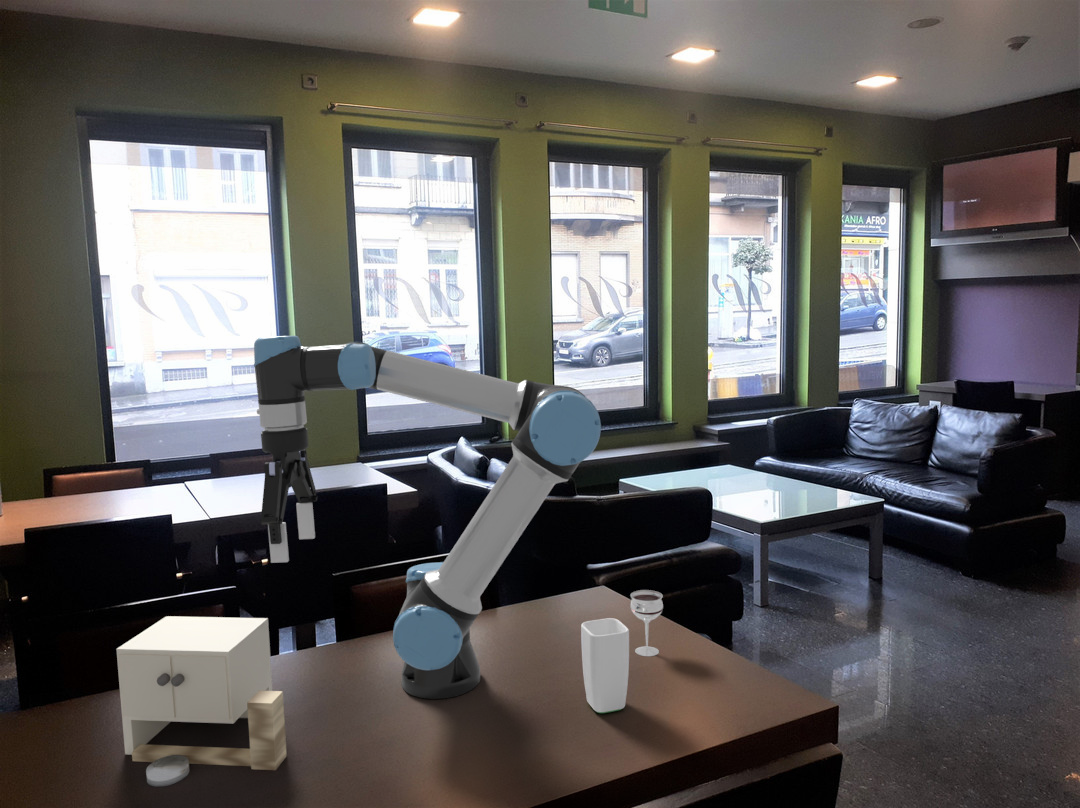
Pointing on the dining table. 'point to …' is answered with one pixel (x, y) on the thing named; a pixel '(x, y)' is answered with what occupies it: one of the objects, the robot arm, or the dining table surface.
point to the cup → (605, 663)
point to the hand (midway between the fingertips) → (294, 549)
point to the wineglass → (646, 614)
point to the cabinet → (191, 673)
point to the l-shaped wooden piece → (261, 755)
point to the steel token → (167, 770)
